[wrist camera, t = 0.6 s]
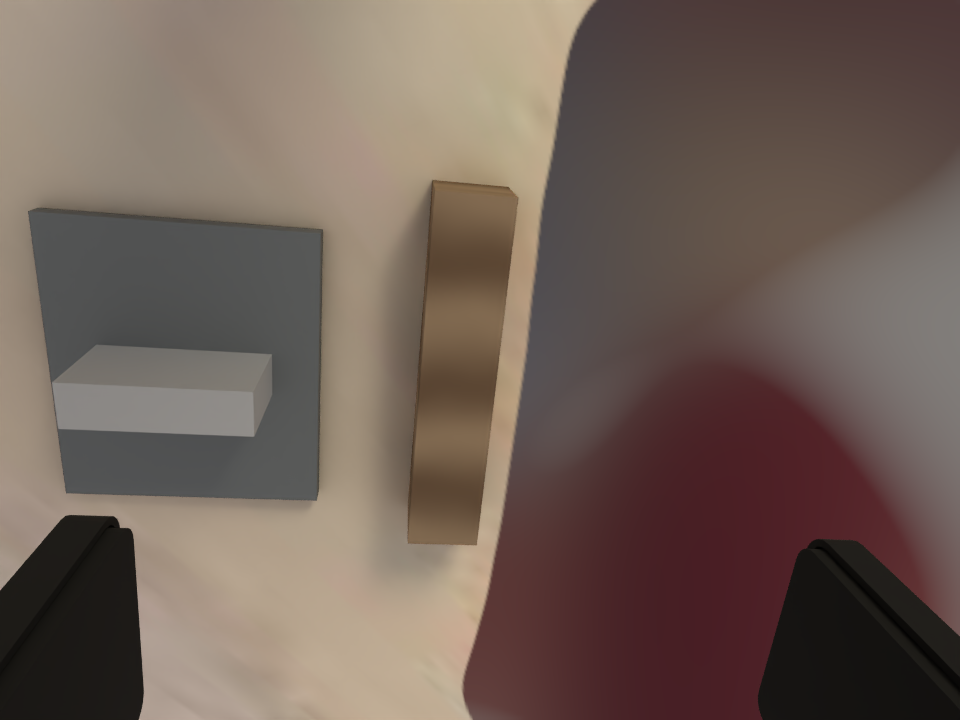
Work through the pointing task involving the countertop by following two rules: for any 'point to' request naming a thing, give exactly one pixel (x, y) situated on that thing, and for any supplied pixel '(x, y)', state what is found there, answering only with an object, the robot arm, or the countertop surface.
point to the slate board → (184, 314)
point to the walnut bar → (458, 358)
